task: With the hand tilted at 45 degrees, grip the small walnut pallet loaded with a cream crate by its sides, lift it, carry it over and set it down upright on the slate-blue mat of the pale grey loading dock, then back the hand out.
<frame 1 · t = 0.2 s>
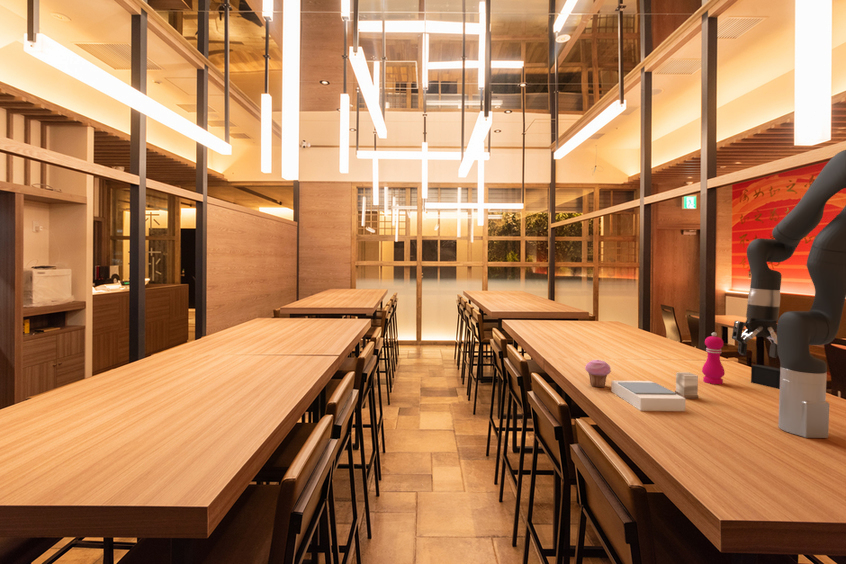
hand: (757, 355, 123), 18 cm above the table, tool pointing down, fingers open, 8 cm apart
pepper mill: (712, 383, 157), on the table
cupcake: (597, 386, 152), on the table
digital camera: (770, 386, 154), on the table
loading dock: (645, 400, 135), on the table
loaded pallet: (686, 396, 140), on the table
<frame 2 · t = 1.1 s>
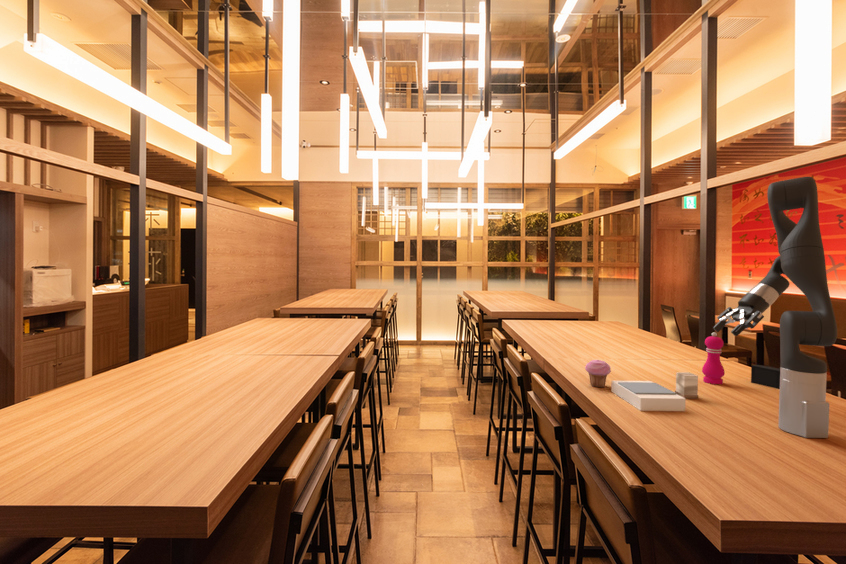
hand: (724, 332, 139), 23 cm above the table, tool tilted 45°, fingers open, 8 cm apart
nothing on the table moved.
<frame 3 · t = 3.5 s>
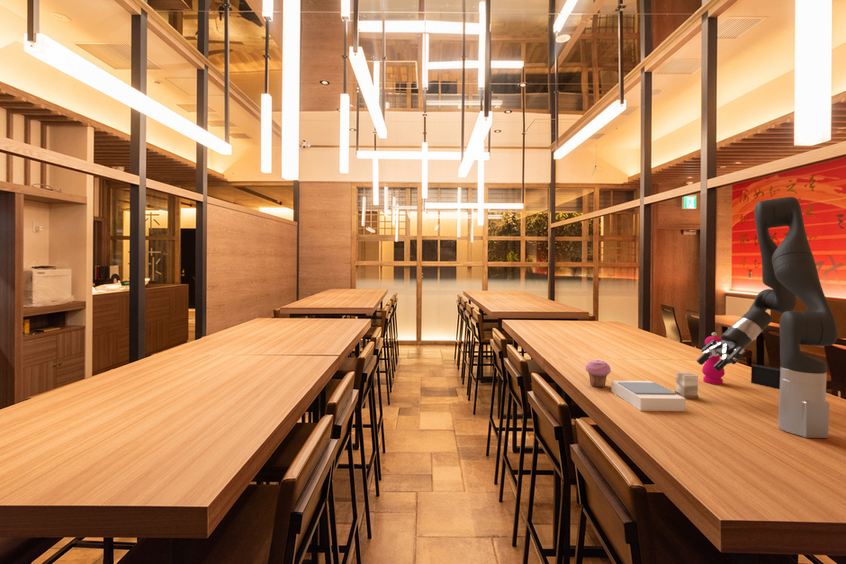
hand: (707, 366, 139), 11 cm above the table, tool tilted 45°, fingers open, 8 cm apart
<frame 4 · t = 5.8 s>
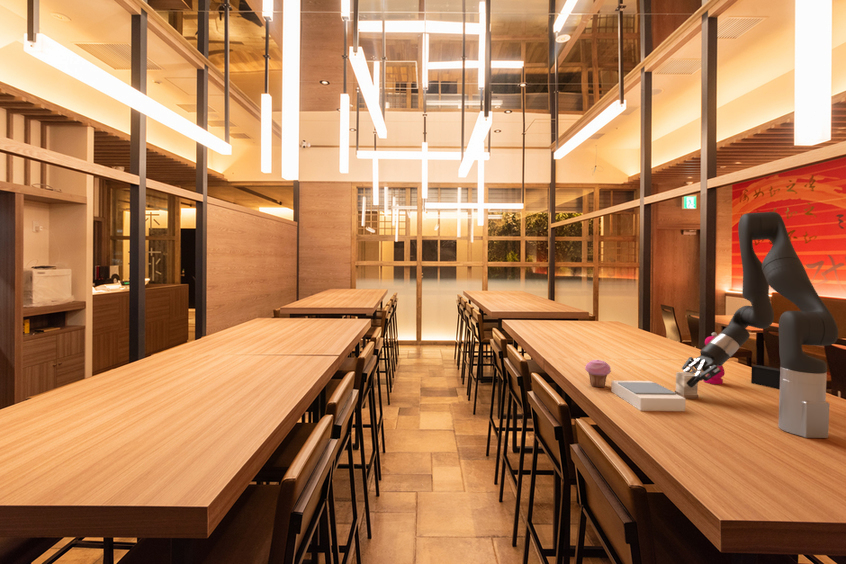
hand: (684, 383, 140), 5 cm above the table, tool tilted 45°, fingers closed on loaded pallet, 4 cm apart
loaded pallet: (686, 396, 140), on the table, touching gripper
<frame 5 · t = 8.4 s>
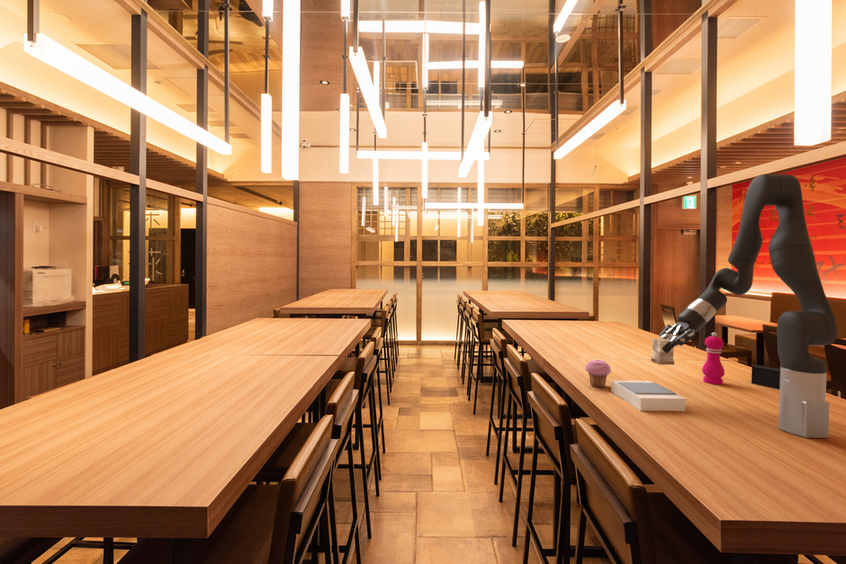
hand: (660, 349, 136), 17 cm above the table, tool tilted 45°, fingers closed on loaded pallet, 4 cm apart
loaded pallet: (662, 362, 137), point 12 cm above the table, touching gripper
when the fingers open (11 cm above the table, at t = 11.1 s): loaded pallet drops 1 cm, resting on loading dock.
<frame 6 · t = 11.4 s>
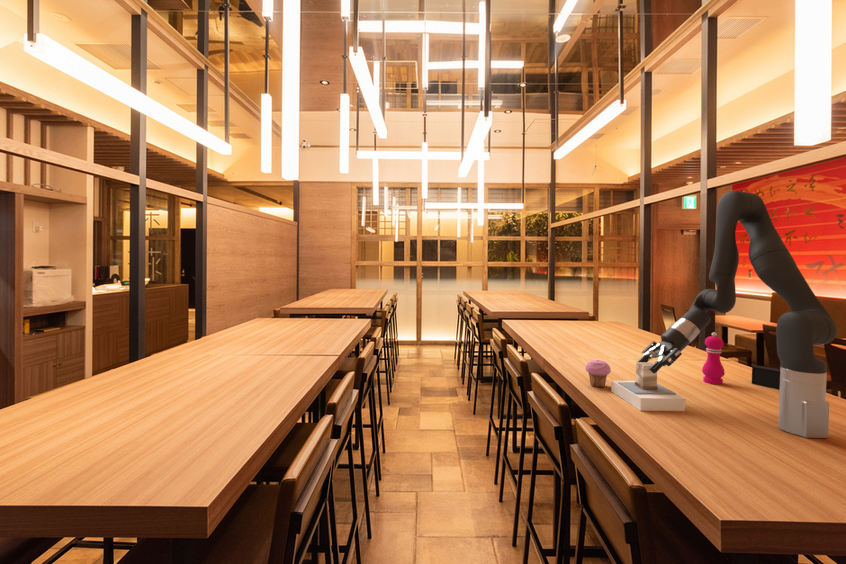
hand: (644, 368, 135), 11 cm above the table, tool tilted 45°, fingers open, 7 cm apart
loaded pallet: (646, 387, 135), point 4 cm above the table, touching loading dock
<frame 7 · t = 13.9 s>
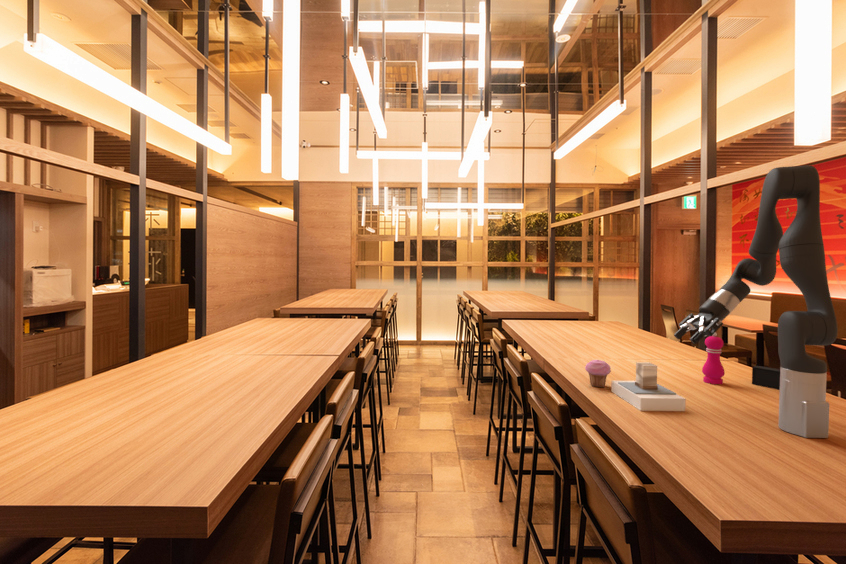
hand: (684, 339, 134), 21 cm above the table, tool tilted 45°, fingers open, 8 cm apart
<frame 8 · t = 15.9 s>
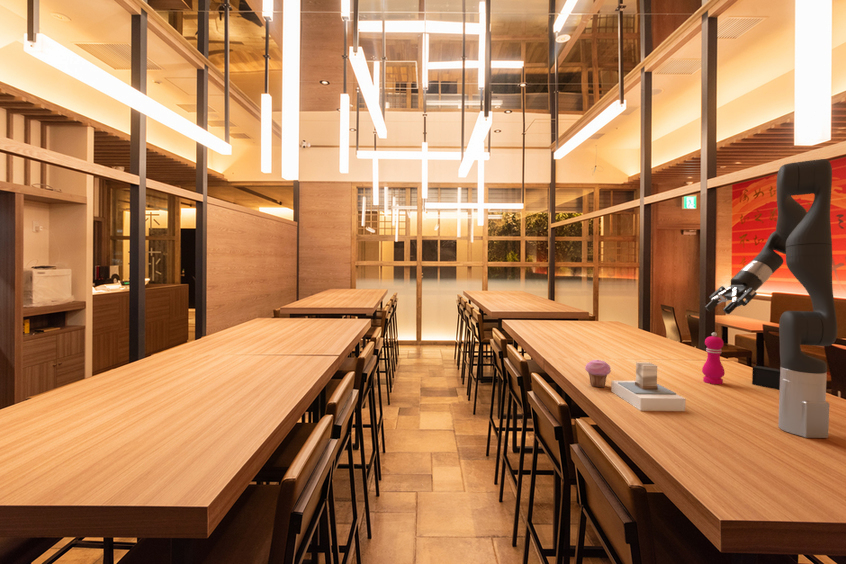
hand: (716, 310, 135), 31 cm above the table, tool tilted 45°, fingers open, 8 cm apart
at the end: loaded pallet inside the target area (0.1 cm from its centre), point 4.5 cm above the table; loaded pallet tilted 0°; the gripper is holding nothing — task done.
